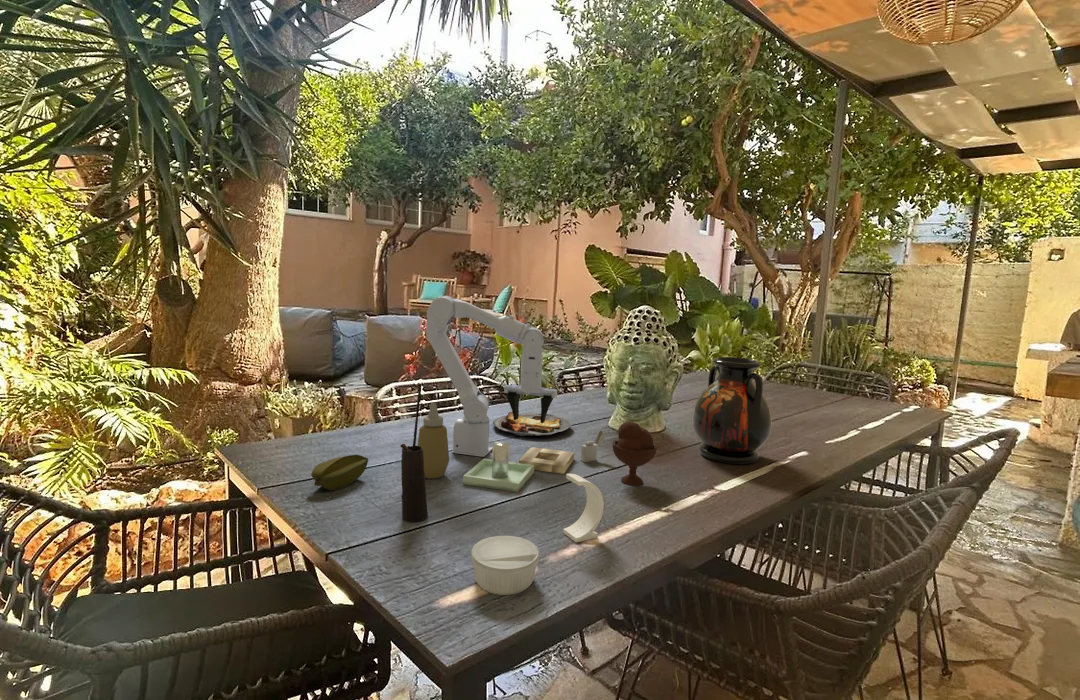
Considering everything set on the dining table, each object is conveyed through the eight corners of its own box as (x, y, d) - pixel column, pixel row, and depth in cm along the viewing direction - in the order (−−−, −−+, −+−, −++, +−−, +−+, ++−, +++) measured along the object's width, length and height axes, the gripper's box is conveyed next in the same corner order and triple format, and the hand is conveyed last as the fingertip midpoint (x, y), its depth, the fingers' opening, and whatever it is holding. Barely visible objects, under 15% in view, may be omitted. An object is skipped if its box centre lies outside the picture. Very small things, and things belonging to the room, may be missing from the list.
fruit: (315, 477, 138) (315, 450, 137) (368, 474, 141) (368, 448, 140) (310, 496, 127) (310, 466, 126) (367, 492, 130) (368, 464, 129)
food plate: (481, 433, 180) (482, 422, 180) (508, 416, 202) (508, 406, 202) (559, 444, 173) (560, 432, 173) (578, 425, 195) (578, 414, 195)
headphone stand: (563, 532, 115) (566, 473, 113) (588, 527, 117) (592, 469, 116) (575, 542, 111) (579, 481, 109) (601, 536, 113) (605, 477, 112)
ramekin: (503, 608, 88) (505, 576, 88) (455, 580, 96) (456, 550, 95) (552, 581, 97) (553, 551, 96) (504, 557, 104) (505, 529, 103)
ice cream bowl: (627, 492, 137) (632, 430, 135) (601, 476, 147) (605, 418, 144) (663, 486, 142) (668, 426, 140) (635, 471, 151) (639, 415, 149)
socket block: (518, 467, 150) (518, 460, 150) (531, 454, 162) (531, 447, 162) (563, 473, 147) (564, 466, 147) (573, 459, 159) (574, 452, 159)
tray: (462, 484, 138) (463, 475, 137) (483, 466, 151) (483, 458, 150) (518, 492, 134) (518, 483, 134) (534, 472, 147) (534, 465, 147)
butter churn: (377, 514, 119) (377, 379, 115) (417, 502, 126) (419, 374, 122) (401, 530, 113) (402, 387, 109) (442, 517, 119) (445, 382, 115)
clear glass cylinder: (489, 477, 141) (490, 445, 140) (495, 472, 145) (496, 440, 144) (504, 479, 140) (505, 447, 139) (510, 474, 144) (511, 442, 143)
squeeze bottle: (454, 472, 145) (456, 401, 143) (438, 483, 138) (440, 408, 135) (426, 467, 148) (427, 397, 145) (408, 477, 140) (409, 404, 138)
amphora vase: (673, 449, 172) (681, 355, 168) (728, 442, 182) (736, 353, 178) (727, 473, 153) (737, 368, 149) (785, 463, 163) (795, 365, 159)
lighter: (584, 462, 157) (585, 433, 156) (580, 460, 159) (582, 431, 157) (605, 458, 161) (607, 430, 160) (601, 457, 162) (603, 429, 161)
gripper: (501, 372, 157) (499, 421, 159) (553, 376, 153) (551, 427, 155) (509, 368, 164) (507, 415, 166) (559, 372, 160) (557, 420, 162)
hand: (529, 420), depth 161 cm, fingers open, 7 cm apart
